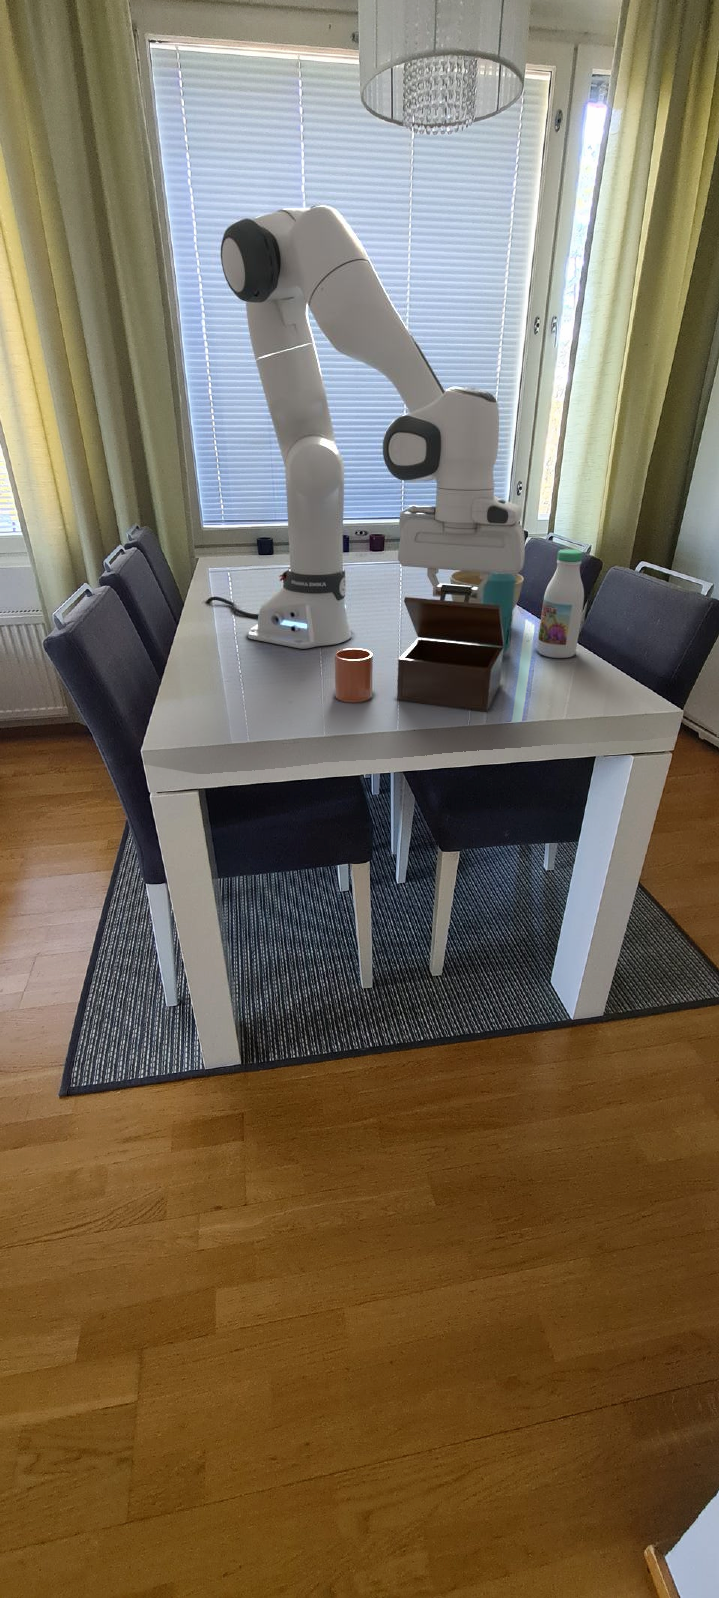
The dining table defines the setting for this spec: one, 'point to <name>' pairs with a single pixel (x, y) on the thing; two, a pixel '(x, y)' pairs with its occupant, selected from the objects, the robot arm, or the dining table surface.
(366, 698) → the cup
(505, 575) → the beverage bottle
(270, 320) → the robot arm
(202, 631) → the dining table surface
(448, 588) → the lid
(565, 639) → the milk bottle
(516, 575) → the planter bowl
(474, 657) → the box
